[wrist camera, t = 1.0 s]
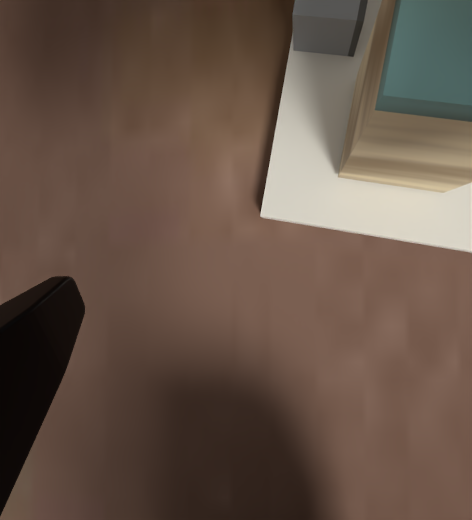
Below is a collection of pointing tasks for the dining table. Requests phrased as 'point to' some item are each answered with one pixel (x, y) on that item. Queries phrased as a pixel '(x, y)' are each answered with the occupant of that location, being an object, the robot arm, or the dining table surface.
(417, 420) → the dining table surface
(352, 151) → the peg
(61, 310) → the robot arm
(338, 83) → the block holder base
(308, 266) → the dining table surface
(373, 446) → the dining table surface
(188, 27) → the dining table surface
